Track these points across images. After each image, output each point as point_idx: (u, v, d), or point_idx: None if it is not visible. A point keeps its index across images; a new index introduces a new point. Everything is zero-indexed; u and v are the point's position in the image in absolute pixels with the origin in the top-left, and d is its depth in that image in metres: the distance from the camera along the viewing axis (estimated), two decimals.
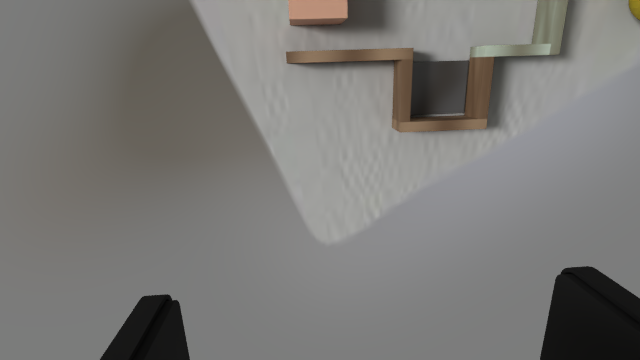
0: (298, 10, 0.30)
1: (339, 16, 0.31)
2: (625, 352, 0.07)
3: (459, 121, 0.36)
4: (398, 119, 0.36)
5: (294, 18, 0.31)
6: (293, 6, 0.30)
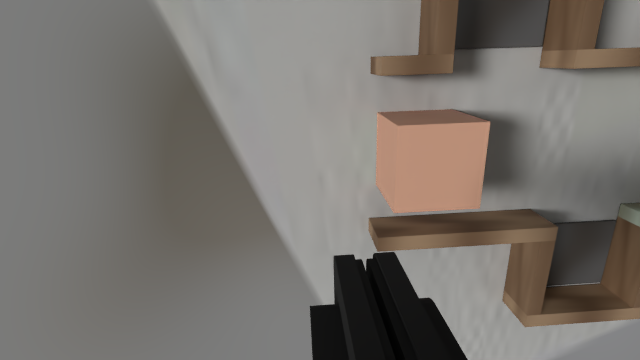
0: (407, 201, 0.20)
1: (468, 206, 0.20)
2: (383, 324, 0.08)
3: (608, 311, 0.26)
4: (521, 307, 0.26)
5: (401, 211, 0.20)
6: (400, 196, 0.20)
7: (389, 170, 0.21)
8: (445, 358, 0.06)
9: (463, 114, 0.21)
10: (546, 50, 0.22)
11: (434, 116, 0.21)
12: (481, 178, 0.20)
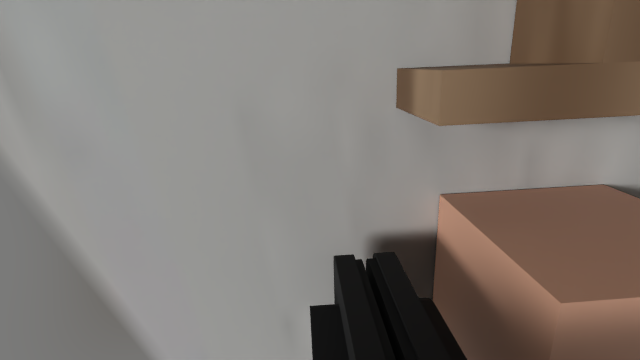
0: None
1: None
2: (383, 324, 0.08)
3: None
4: None
5: None
6: None
7: None
8: (445, 359, 0.06)
9: None
10: None
11: (607, 226, 0.08)
12: None
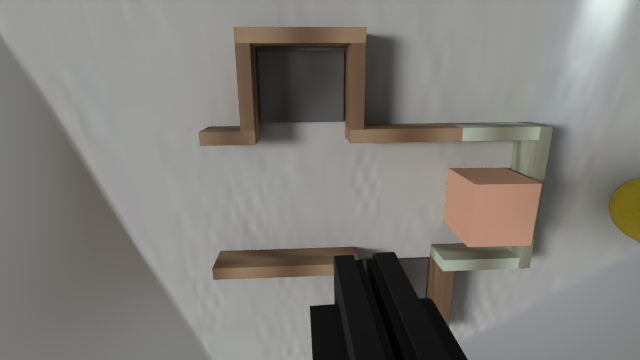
0: (478, 239, 0.27)
1: (522, 244, 0.28)
2: (383, 324, 0.08)
3: None
4: None
5: (473, 245, 0.27)
6: (473, 234, 0.27)
7: (463, 214, 0.28)
8: (444, 358, 0.06)
9: (517, 174, 0.29)
10: (346, 125, 0.29)
11: (496, 175, 0.28)
12: (533, 223, 0.27)
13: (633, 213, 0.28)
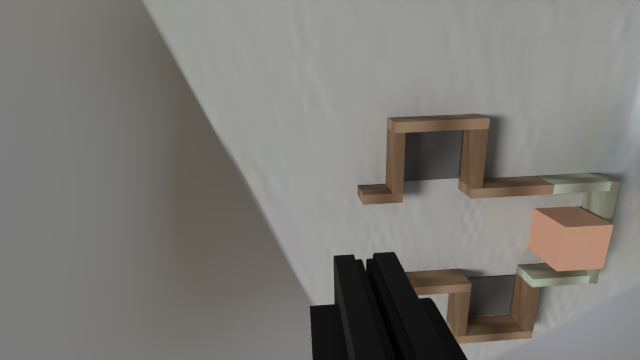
0: (565, 265, 0.37)
1: (596, 267, 0.37)
2: (383, 324, 0.08)
3: (508, 333, 0.41)
4: (454, 330, 0.42)
5: (560, 270, 0.37)
6: (561, 262, 0.37)
7: (551, 246, 0.38)
8: (445, 358, 0.06)
9: (590, 214, 0.38)
10: (461, 181, 0.38)
11: (575, 216, 0.38)
12: (605, 253, 0.37)
13: None
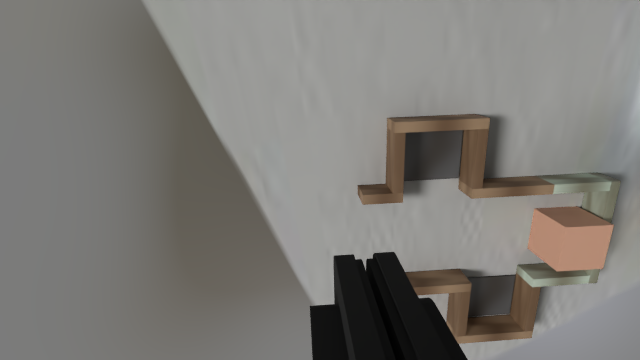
0: (565, 265, 0.37)
1: (596, 268, 0.37)
2: (383, 324, 0.08)
3: (508, 333, 0.41)
4: (454, 330, 0.42)
5: (560, 270, 0.37)
6: (561, 262, 0.37)
7: (551, 246, 0.38)
8: (445, 358, 0.06)
9: (590, 214, 0.38)
10: (461, 181, 0.38)
11: (575, 216, 0.38)
12: (605, 253, 0.37)
13: None
